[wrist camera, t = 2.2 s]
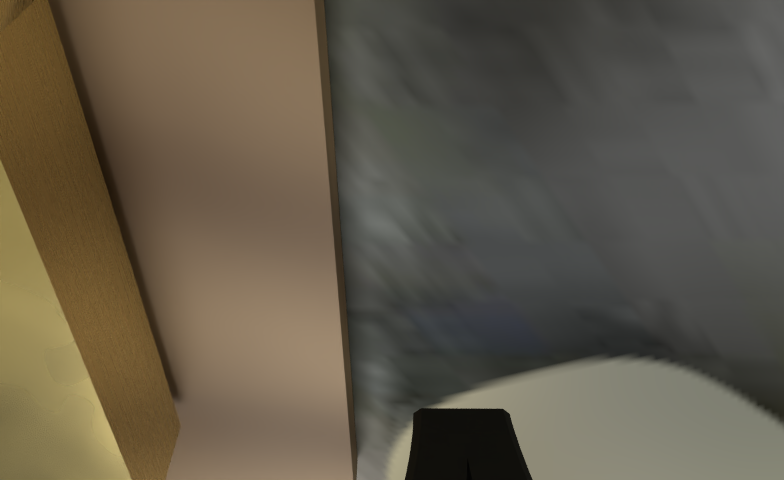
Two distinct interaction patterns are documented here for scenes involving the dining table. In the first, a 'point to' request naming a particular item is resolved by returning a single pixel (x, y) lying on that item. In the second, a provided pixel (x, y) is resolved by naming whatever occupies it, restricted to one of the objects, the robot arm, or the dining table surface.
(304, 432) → the strike board
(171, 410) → the latch bar
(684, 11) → the dining table surface
